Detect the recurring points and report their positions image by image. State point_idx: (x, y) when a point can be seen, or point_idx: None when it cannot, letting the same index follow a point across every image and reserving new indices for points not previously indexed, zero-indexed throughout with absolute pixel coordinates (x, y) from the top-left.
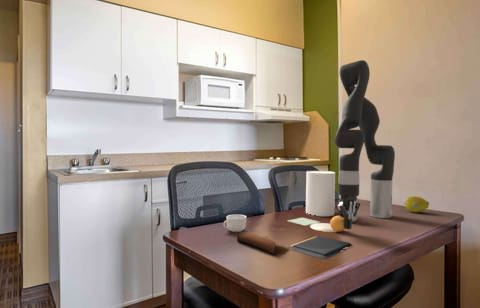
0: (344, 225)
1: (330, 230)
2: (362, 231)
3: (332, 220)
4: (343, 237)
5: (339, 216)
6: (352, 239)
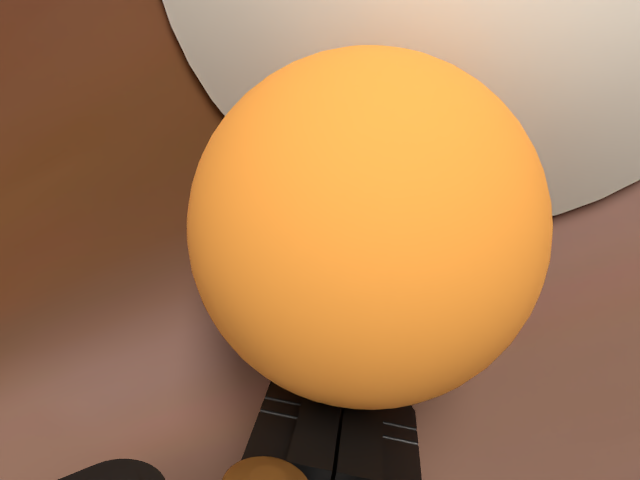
0: (270, 391)
1: None
2: (630, 471)
3: (205, 162)
4: (129, 370)
5: (328, 331)
6: None
